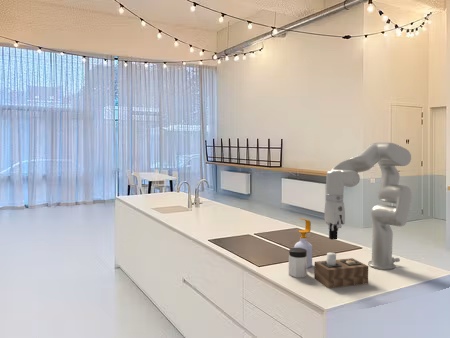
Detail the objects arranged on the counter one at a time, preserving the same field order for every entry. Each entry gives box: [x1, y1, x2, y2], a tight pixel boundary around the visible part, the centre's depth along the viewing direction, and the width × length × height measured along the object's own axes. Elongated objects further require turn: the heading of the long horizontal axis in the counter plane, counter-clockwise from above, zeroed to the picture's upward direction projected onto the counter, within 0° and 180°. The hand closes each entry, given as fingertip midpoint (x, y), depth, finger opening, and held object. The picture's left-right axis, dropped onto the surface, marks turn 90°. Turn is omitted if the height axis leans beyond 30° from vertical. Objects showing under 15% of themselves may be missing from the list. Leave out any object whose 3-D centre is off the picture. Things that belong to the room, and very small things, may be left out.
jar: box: [288, 247, 308, 278], centre depth 180 cm, size 9×8×12 cm
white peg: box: [326, 252, 337, 266], centre depth 170 cm, size 4×4×8 cm
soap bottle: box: [293, 217, 313, 269], centre depth 193 cm, size 9×9×25 cm
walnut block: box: [313, 257, 369, 289], centre depth 171 cm, size 20×12×8 cm, turn 106°
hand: (333, 238), depth 169 cm, fingers closed
